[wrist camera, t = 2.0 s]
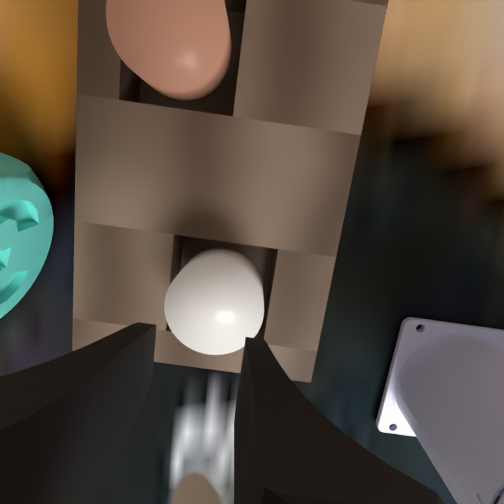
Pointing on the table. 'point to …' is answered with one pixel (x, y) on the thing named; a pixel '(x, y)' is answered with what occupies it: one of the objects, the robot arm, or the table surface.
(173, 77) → the terracotta button
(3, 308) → the decorative dice
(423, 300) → the table surface
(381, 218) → the table surface
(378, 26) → the button panel
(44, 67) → the table surface
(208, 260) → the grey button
